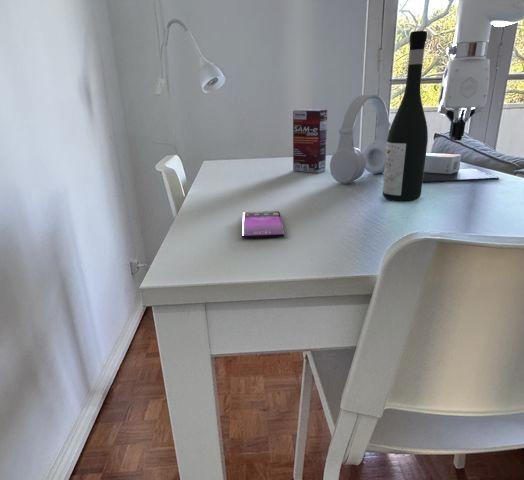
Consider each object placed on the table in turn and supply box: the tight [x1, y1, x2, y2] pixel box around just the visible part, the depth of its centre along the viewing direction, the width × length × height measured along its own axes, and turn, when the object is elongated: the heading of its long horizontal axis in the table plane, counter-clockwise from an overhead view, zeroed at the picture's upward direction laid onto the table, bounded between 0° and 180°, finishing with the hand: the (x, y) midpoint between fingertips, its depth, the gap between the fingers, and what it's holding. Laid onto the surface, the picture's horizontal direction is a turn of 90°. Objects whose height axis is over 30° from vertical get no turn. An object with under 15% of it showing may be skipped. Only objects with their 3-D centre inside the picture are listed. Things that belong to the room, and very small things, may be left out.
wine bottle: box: [382, 30, 429, 203], centre depth 94 cm, size 8×8×30 cm
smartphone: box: [241, 210, 286, 239], centre depth 85 cm, size 7×15×1 cm, turn 1°
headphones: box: [329, 94, 392, 185], centre depth 119 cm, size 20×8×19 cm, turn 138°
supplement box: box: [292, 108, 328, 174], centre depth 133 cm, size 9×5×16 cm, turn 55°
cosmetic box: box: [424, 152, 462, 174], centre depth 125 cm, size 6×4×12 cm
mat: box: [422, 168, 500, 185], centre depth 121 cm, size 22×14×1 cm, turn 93°
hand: (455, 139), depth 117 cm, fingers closed
